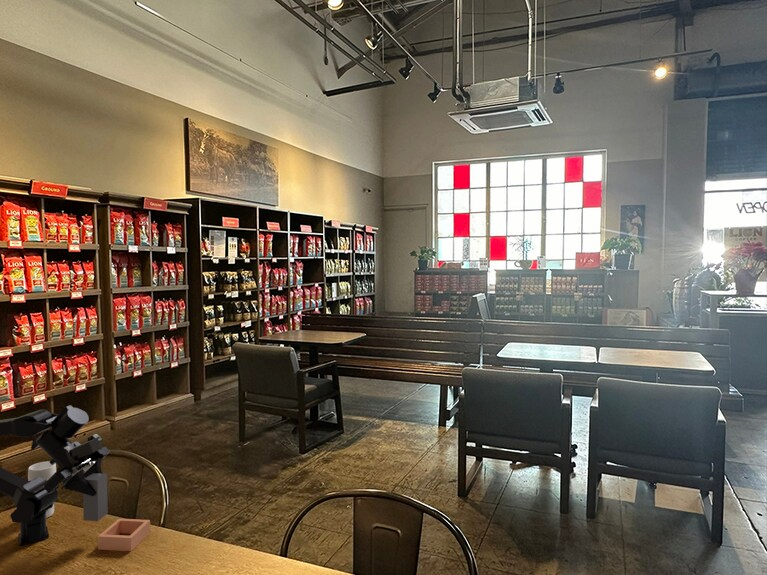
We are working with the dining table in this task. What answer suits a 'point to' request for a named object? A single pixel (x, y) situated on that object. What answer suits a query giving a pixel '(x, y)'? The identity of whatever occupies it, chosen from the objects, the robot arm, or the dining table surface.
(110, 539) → the socket
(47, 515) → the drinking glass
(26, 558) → the dining table surface
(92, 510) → the plug
